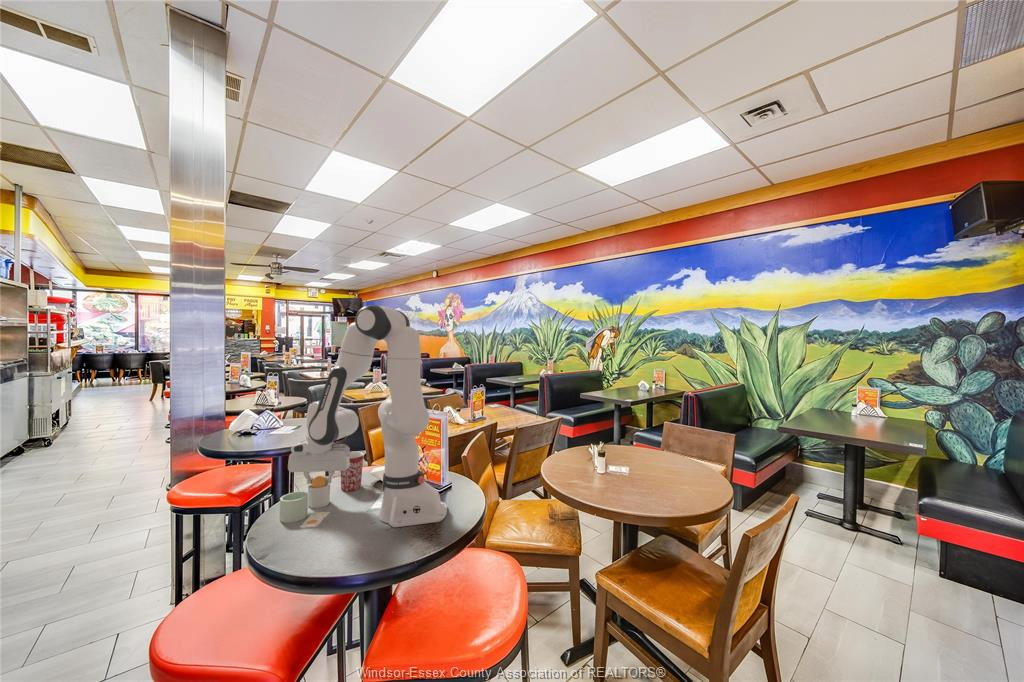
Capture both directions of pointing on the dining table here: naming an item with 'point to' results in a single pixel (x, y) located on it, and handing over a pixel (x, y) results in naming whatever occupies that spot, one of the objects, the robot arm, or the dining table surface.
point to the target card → (314, 520)
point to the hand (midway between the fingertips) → (319, 483)
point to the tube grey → (318, 496)
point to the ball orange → (318, 482)
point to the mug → (352, 473)
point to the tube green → (293, 507)
